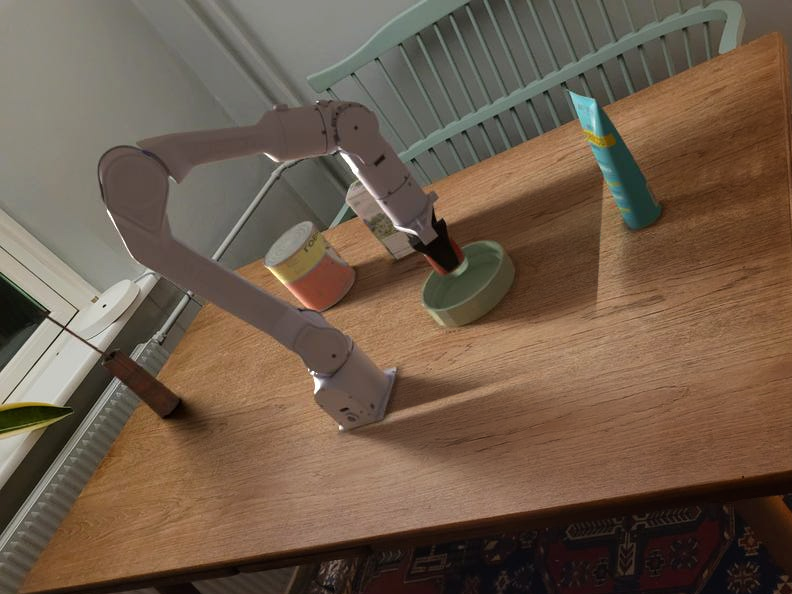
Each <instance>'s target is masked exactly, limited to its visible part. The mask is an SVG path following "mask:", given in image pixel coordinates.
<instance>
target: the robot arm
mask: <svg viewBox="0 0 792 594" xmlns="http://www.w3.org/2000/svg"><path fill="white" fill-rule="evenodd" d="M315 102H316V104H312V105H311V104H309V105H303V106H295V107H289V106H288V104H287V103H283V102H281V103H274V105H273V109H271V110H266V111H264V112H263V113H262V116H261V117H260V118H259V120H258V121H257V122H256V123H255V124H250V125H241V126H232V127H221V128H211V129H202V130H193V131H185V132H184V131H182V132H173V133H166V134H162V135H157V136H153V137H147V138H144V139H140V140H138V141H135V142H134V144H135V145H136V146H134V145H129V144H118V145H115V146H113V147H110V148H109V149H107V150H106V151H105V152H104V153H102V155H100V158H99V160H98V162H97V164H96V165H97V166H96V175H97V181H98V188H99V194H100V198H101V201H102V203H103V204H104V206H105V209H106V211H107V214H108V215H109V217H110V218H111V221H112V222H113V225H114V226H115V228H116V230H117V232H118V234H119V236H120V238H121V239H122V242H123V243H124V245H125V247H126V249H127V251H128V253H129V254H130V256H131V257H132V259H133V260H134V262H135V261H136V262H137V263H138V264H139V265H141V266H143V267H145V268H147V270H148V269H149V270H150V271H152V272H154V273H156V274H157V275H159V276H161V277H163V278H165V279H167V280H168V281H170V282H172V283H174V284H175V285H177V286H179V287H181V288H183V289H185V290H186V291H188V292H190V293H192V294H194V295H195V296H198V297H199V298H200V299H203V300H204V301H207V302H208V303H210V304H212V305H214V306H215V307H217V308H218V309H220V310H223V311H225V312H227V313H228V314H230V315H232V316H233V317H236V318H237V319H239V320H241V321H242V322H244V323H246V324H248V325H250V326H252V327H253V328H255V329H257V330H259V331H260V332H263V333H265V334H266V335H268V336H270V337H271V338H272V339H273V340H275V341H276V342H278V343H279V344H281V346H283V347H284V348H286V349H287V350H288V351H290V352H292V353H293V354H296V355H297V356H298V357H299V359H300V360H301V362H302V364H303V365H304V366H305V367H306V368H307V370H308V372H309V374H310V375H311V376H312V377H313V380H314V385H315V387H314V395H313V396H314V397H313V398H314V401H315V404H317V406H318V407H319V408H320V409H321V410H322V411H324V412H325V413H326V414H327V415H328V416H329V417H330V418H331V419H333V420H334V422H336V423H337V424H338V425H339V431H341V432H344V431H345V432H346V431H348V430H351V429H355V428H358V427H362V426H365V425H369V424H372V423H376V422H379V421H382V420H384V419H385V417H386V414H385V411H386V408H387V405H388V402H389V398H390V395H391V391H392V388H393V384H394V381H395V379H396V375H397V371H398V367H397V366H394V367H390V368H387V369H384V370H383V369H382V368H381V367H379V365H378V364H377V363H376V362H374V360H373V359H372V358H371V357H370V356H369V355H368V354H367V353H366V352H365V351H364V350H363V348H361V347H360V346H359V345H358V344H357V342H355V340H353V338H351V337H350V335H348V334H344V333H343V332H342V331H341V330H340V329H339V328H336V327H335V326H334V325H332V324H331V323H330V322H329V321H328V320H327V318H325V316H324V315H323V314H322V313H321V312H318V311H316V310H314V309H310V308H307V307H299V306H296V305H294V304H293V303H291V302H289V301H286V300H284V299H281V298H279V297H277V296H276V295H274V294H273V293H271V292H269V291H268V290H266V289H265V288H262V287H261V286H259V285H258V284H256V283H254V282H252V281H251V280H249V279H248V278H246V277H244V276H243V275H241V274H239V273H237V272H236V271H234V270H233V269H231V268H229V267H228V266H226V265H224V264H222V263H221V262H219V261H217V260H216V259H214V258H212V257H210V256H209V255H207V254H206V253H203V252H202V251H201V250H199V249H197V248H195V247H194V246H192V245H190V244H189V243H187V242H185V241H183V240H182V239H180V238H178V237H177V236H175V235H173V233H172V228H171V224H170V220H169V215H168V213H167V212H168V204H169V197H170V179H171V180H173V181H174V182H175V183H176V184H177V185H180V184H181V183H182V182H183V181H184V180H185V179H186V178H187V176H188V175H189V174H190V173H191V172H192V171H193V170H194V168H196V167H198V166H203V165H209V164H213V163H219V162H224V161H229V160H235V159H239V158H246V157H250V156H254V155H259V154H263V155H265V156H267V158H270V159H271V160H272V161H273V162H275V163H283V162H289V161H290V162H291V161H296V160H303V159H309V158H314V157H321V156H327V155H330V154H332V153H333V152H334V151H340V152H339V154H340V155H341V157H342V158H343V159H344V160H345V162H346V163H347V164H348V165H349V167H350V168H351V171H352V172H353V174H354V175H355V176H356V178H357V179H358V180H360V181H361V182H362V183H363V185H364V186H365V187H366V189H367V190H368V191H369V192H370V194H371V195H372V196H373V197H374V199H375V200H376V201H377V202H378V204H379V205H380V206H381V208H382V209H383V210H384V211H385V213H386V214H387V215H388V216H389V218H390V219H391V220H392V222H393V225H394V226H395V228H396V229H397V230H400V231H404V232H406V233H409V234H410V235H412V236H414V237H412V238H411V239H410V240H408V243H409V245H410V247H411V248H412V249H414V250H415V251H414V252H418V253H421V254H423V255H424V254H425V255H426V256H428V257H430V258H431V259H432V260H433V261H435V262H436V263H437V264H438V265H439V266H440V267H442V268H443V269H444V270H446V271H447V272H450V271H451V270H452V269H454V268H455V267H456V266H458V265H459V264H460V262H459V259H458V257H457V255H456V253H455V251H454V249H453V247H452V245H451V242H450V240H449V236H448V232H449V230H448V225H447V221H446V220H445V218H443V217H442V218H440V219H439V220H438V219H437V216H436V211H435V206H434V203H436V202H437V201H438V200H439V195H438V193H437V192H436V191H435V190H431V191H429V192H428V193H426V192H425V191H424V190H423V189H422V187H421V186H420V184H419V183H418V181H417V180H416V178H415V177H414V176H413V175H412V173H411V172H410V171H409V169H408V168H407V167H406V165H405V163H404V162H403V160H402V159H401V158H400V156H399V155H398V154H397V152H396V151H395V150H394V148H393V147H392V146H391V145H390V143H389V142H388V141H386V139H385V137H384V136H383V135H382V134H381V133H380V132H381V131H380V124H379V119H378V117H377V115H376V113H375V111H373V110H372V111H371V110H370V109H369V108H368V107H367V106H366V105H364V104H362V103H360V102H356V101H349V100H333V99H329V100H327V99H317V100H316V101H315ZM169 178H170V179H169Z"/></svg>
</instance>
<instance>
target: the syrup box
mask: <svg viewBox="0 0 792 594" xmlns="http://www.w3.org/2000/svg"><path fill="white" fill-rule="evenodd" d="M345 202H346V203H347V205H348V206H349V207H350V208H351V210H352V211H353V212H354V213H355V214H356V215H357V217H358V218H359V219H360V221H362V223H363V224H364V225H365V226H366V227H367V228H368V230H369V231H370V233H371V234H373V236H374V237H375V238H376V239H377V241H378V242H379V243H380V244H381V245H382V246H383V248H384V249H385V250H386V251H387V252H388V254H389V255H390V256H391V257H392V258H393V260H395V261H397V260H399V259H401V258H404V257H406V256H408V255H410V254H412V253H415V252H416V251H415V250H414V249H412V248H411V247H410V245H409V243H408V240H410V239H411V238H412V237H414V236H412V235H410V234H409V233H406V232H404V231H400V230H397V229H396V228H395V226H394V225H393V222H392V220H391V219H390V218H389V216H388V215H387V214H386V213H385V211H384V210H383V209H382V208H381V206H380V205H379V204H378V202H377V201H376V200H375V199H374V197H373V196H372V195H371V194H370V192H369V191H368V190H367V189H366V187H365V186H364V185H363V183H362V182H361V181H360V180H359V179H357V180H355V181H353V182H351V184H350V186H349V188H348V190H347V192H346V197H345Z"/></svg>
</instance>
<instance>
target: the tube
mask: <svg viewBox="0 0 792 594" xmlns="http://www.w3.org/2000/svg"><path fill="white" fill-rule="evenodd" d="M566 91H568V93H569V95H570V98H571V100H572V104H573V106H574V108H575V109H574V110H575V112H576V114H577V117H578V119H579V122H580V124H581V128H582V129H583V132H584V134H585V137H586V139H587V141H588V143H589V146H590V148H591V151H592V153H593V156H594V157H595V159H596V162H597V164H598V167H599V168H600V170H601V172H602V175H603V178H604V179H605V181H606V184H607V186H608V189H609V191H610V192H611V194H612V197H613V199H614V201H615V204H616V205H617V207H618V209H619V212H620V213H621V216H622V218H623V219H624V222H625V224H626V226H627V227H628V228H630V229H633V230H640V229H645V228H646V227H649V226H651V225H653V224H654V222H655V221H656V220H658V218H659V217H660V215H661V214H662V206H661V204H660V202H659V199H658V198H657V196H656V195H655V193H654V190H653V189H652V187H651V185H650V183H649V182H648V180H647V178H646V177H645V175H644V173H643V171H642V170H641V168H640V166H639V165H638V162H637V161H636V159H635V158H634V156H633V154H632V152H631V151H630V149H629V147H628V145H627V144H626V143H625V141H624V139H623V137H622V136H621V134H620V132H619V131H618V130H617V128H616V126H615V124H614V122H613V121H612V120H611V119H610V117H609V115H608V114H607V113H606V111H605V110H604V108H603V107H602V106H601V105H600V104H599V102H598V101H597V99H595V98H593V97H590V96H584V95H581V94H579V93H577V92H575V91H573V90H570V89H569V88H566Z"/></svg>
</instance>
